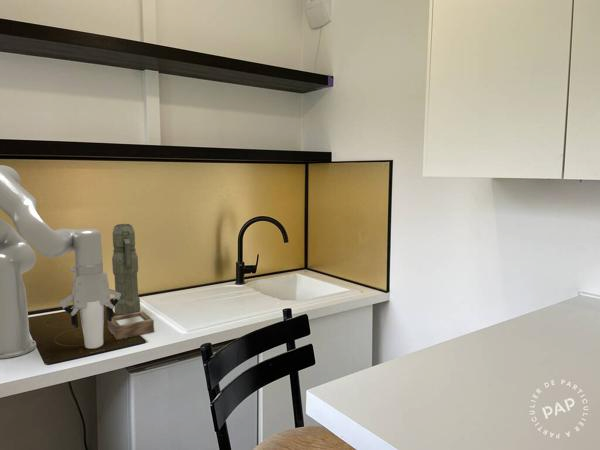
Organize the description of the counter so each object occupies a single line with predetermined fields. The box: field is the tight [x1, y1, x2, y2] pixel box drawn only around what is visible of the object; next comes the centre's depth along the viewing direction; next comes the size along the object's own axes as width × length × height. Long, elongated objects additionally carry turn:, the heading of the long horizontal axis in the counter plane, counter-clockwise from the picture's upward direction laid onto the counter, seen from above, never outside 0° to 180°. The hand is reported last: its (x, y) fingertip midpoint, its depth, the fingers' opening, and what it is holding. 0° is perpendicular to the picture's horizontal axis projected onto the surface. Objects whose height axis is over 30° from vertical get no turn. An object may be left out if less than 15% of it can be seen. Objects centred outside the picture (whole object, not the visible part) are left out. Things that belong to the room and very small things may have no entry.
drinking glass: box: [79, 301, 105, 350], centre depth 137 cm, size 7×7×15 cm
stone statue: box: [111, 223, 141, 316], centre depth 163 cm, size 9×12×35 cm
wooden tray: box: [107, 310, 155, 341], centre depth 151 cm, size 12×12×4 cm
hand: (93, 323), depth 137 cm, fingers open, 9 cm apart
